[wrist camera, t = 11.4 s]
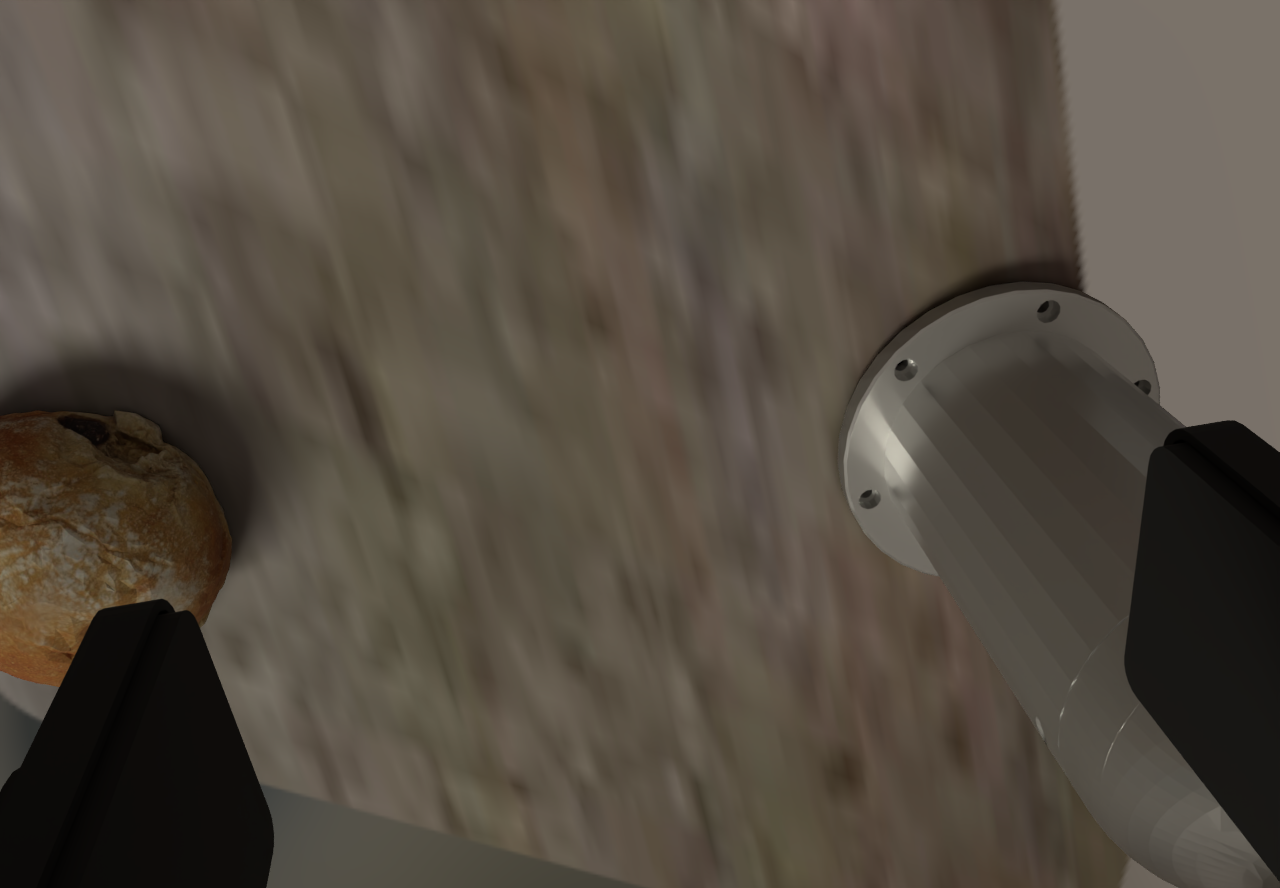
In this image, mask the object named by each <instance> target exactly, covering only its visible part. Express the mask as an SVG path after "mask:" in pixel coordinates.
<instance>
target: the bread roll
mask: <svg viewBox="0 0 1280 888" xmlns="http://www.w3.org/2000/svg"><path fill="white" fill-rule="evenodd" d="M231 546H232V537H231V536H230V533H229V529H228V524H227V522H226V519H225V517H224V509H223V508H222V507H221V506H220V504H219V502H218V501H217V499H216V497H215V495H214V493H213V490H212V487H211V485H210V483H209V481H208V479H207V477H206V476H205V474H204V473H203V471H202V470H201V469H200V467H199V466H198V464H197V463H196V462H195V461H194V460H193V459H191V458H190V457H189V456H188V455H186V454H185V453H184V452H182V451H181V450H179V449H178V448H176V447H175V446H172V445H170V444H167V443H164V442H163V440H162V432H161V430H160V427H159V425H157V424H155V423H154V422H152V421H150V420H148V419H146V418H144V417H142V416H140V415H138V414H137V413H130V412H123V411H116V410H114V415H113V416H102V415H98V414H92V413H82V412H69V411H59V412H52V413H50V412H45V411H39V410H37V411H32V412H25V413H12V414H8V415H3V416H0V671H3V672H5V673H8V674H10V675H12V676H14V677H17V678H20V679H23V680H27V681H32V682H35V683H40V684H47V685H52V686H57V687H60V685H61V683H62V681H63V679H64V677H65V675H66V673H67V671H68V669H69V666H70V664H71V662H72V660H73V658H74V656H75V654H76V652H77V650H78V648H79V646H80V644H81V642H82V640H83V638H84V636H85V634H86V631H87V629H88V627H89V625H90V623H91V621H92V619H93V617H94V616H95V615H96V613H97V612H98V611H99V610H101V609H104V608H109V607H115V606H121V605H127V604H133V603H139V602H145V601H151V600H157V599H164V600H167V601H168V602H169V603H170V604H171V605H172V606H173V608H174V610H175V612H178V611H184V610H188V611H190V612H191V613H192V614H193V615H194V616H195V618H196V620H197V622H198V625H199V627H202V626H203V625H204V624H205V622H206V620H207V618H208V615H209V612H210V610H211V607H212V604H213V602H214V600H215V599H216V597H217V594H218V592H219V590H220V589H221V588H222V587H223V585H224V583H225V582H224V581H225V579H226V575H227V572H228V570H229V566H230V559H231V553H232V548H231Z"/></svg>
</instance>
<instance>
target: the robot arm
mask: <svg viewBox="0 0 1280 888" xmlns="http://www.w3.org/2000/svg"><path fill="white" fill-rule="evenodd" d="M1041 304H1042V305H1041ZM1040 305H1041V306H1040ZM903 360H904V361H903ZM901 361H903V362H902V363H901V364H900V365H898V366H897V364H898V363H900V362H901ZM838 469H839V475H840V481H841V487H842V491H843V493H844V496H845V498H846V500H847V503H848V505H849V507H850V510H851V512H852V514H853V515H854V517H855V519H856V520H857V522H858V523H859V525H860V527H861V528H862V530H863V532H864V533H865V534H866V535H867V537H868V538H869V539H870V540H871V541H872V542H873V543H874V544H875V545H876V546H877V547H878V548H879V549H880V550H881V551H882V552H884V553H885V554H887V555H888V556H890V557H891V558H893V559H894V560H896V561H897V562H899V563H900V564H902V565H904V566H907V567H909V568H912V569H914V570H917V571H919V572H922V573H924V574H929V575H935V576H940V578H941V580H942V581H943V583H944V584H945V586H946V587H947V589H948V591H949V592H950V594H951V595H952V597H953V598H954V600H955V602H956V603H957V605H958V606H959V608H960V609H961V611H962V613H963V614H964V616H965V617H966V619H967V621H968V622H969V624H970V625H971V627H972V628H973V630H974V632H975V633H976V635H977V636H978V638H979V639H980V641H981V643H982V644H983V646H984V647H985V649H986V650H987V652H988V654H989V655H990V657H991V658H992V660H993V661H994V663H995V665H996V666H997V668H998V669H999V671H1000V673H1001V674H1002V676H1003V677H1004V679H1005V680H1006V682H1007V684H1008V685H1009V687H1010V688H1011V690H1012V691H1013V693H1014V695H1015V696H1016V698H1017V699H1018V701H1019V702H1020V704H1021V706H1022V707H1023V709H1024V710H1025V712H1026V713H1027V715H1028V717H1029V718H1030V720H1031V721H1032V723H1033V725H1034V726H1035V728H1036V729H1037V731H1038V732H1039V734H1040V736H1041V737H1042V739H1043V740H1044V742H1045V743H1046V745H1047V747H1048V748H1049V750H1050V751H1051V753H1052V754H1053V756H1054V757H1055V759H1056V760H1057V762H1058V763H1059V765H1060V766H1061V768H1062V770H1063V771H1064V773H1065V774H1066V776H1067V777H1068V779H1069V780H1070V782H1071V784H1072V786H1073V787H1074V789H1075V790H1076V792H1077V793H1078V795H1079V796H1080V798H1081V800H1082V801H1083V803H1084V804H1085V806H1086V807H1087V809H1088V810H1089V812H1090V813H1091V815H1092V816H1093V818H1094V819H1095V820H1096V821H1097V823H1098V824H1099V825H1100V827H1101V828H1102V829H1103V830H1104V832H1105V833H1106V834H1107V835H1108V836H1109V838H1110V839H1111V840H1113V841H1114V842H1115V843H1116V844H1117V845H1118V846H1119V847H1120V848H1121V849H1122V850H1123V851H1124V852H1125V853H1126V854H1127V855H1128V856H1129V857H1131V858H1132V859H1133V860H1134V861H1136V862H1137V863H1139V864H1140V865H1141V866H1143V867H1144V868H1146V869H1147V870H1148V871H1150V872H1151V873H1153V874H1154V875H1156V876H1157V877H1159V878H1161V879H1162V880H1164V881H1166V882H1168V883H1170V884H1172V885H1174V886H1176V887H1178V888H1280V452H1278V451H1277V450H1276V449H1274V448H1273V447H1272V446H1270V445H1269V444H1268V443H1266V442H1265V441H1264V440H1263V439H1261V438H1260V437H1258V436H1257V435H1256V434H1255V433H1253V432H1252V431H1251V430H1249V429H1248V428H1247V427H1245V426H1244V425H1243V424H1241V423H1238V422H1237V421H1221V422H1215V423H1209V424H1203V425H1197V426H1191V427H1186V426H1184V425H1183V424H1182V423H1181V422H1179V421H1178V420H1177V419H1176V418H1175V417H1173V416H1172V415H1171V414H1170V413H1169V412H1167V411H1166V410H1165V409H1164V408H1162V407H1161V406H1160V387H1159V382H1158V378H1157V373H1156V369H1155V365H1154V361H1153V359H1152V357H1151V356H1150V353H1149V351H1148V349H1147V348H1146V346H1145V343H1144V341H1143V340H1142V338H1141V337H1140V336H1139V335H1138V334H1137V333H1136V331H1135V330H1134V329H1133V328H1132V327H1131V326H1130V324H1129V323H1128V322H1127V321H1126V320H1125V319H1124V318H1122V317H1121V316H1120V315H1119V314H1117V313H1116V312H1115V311H1113V310H1112V309H1111V308H1109V307H1108V306H1107V305H1105V304H1104V303H1102V302H1101V301H1099V300H1097V299H1095V298H1093V297H1091V296H1089V295H1087V294H1085V293H1083V292H1082V291H1080V290H1076V289H1072V288H1068V287H1065V286H1061V285H1057V284H1053V283H1040V282H1014V283H1007V284H1000V285H992V286H988V287H985V288H982V289H978V290H975V291H972V292H969V293H966V294H963V295H960V296H957V297H955V298H953V299H951V300H949V301H947V302H945V303H943V304H942V305H940V306H938V307H936V308H934V309H932V310H930V311H928V312H927V313H925V314H924V315H923V316H921V317H920V318H918V319H917V320H916V321H914V322H913V323H912V324H910V325H909V326H908V327H906V328H905V329H903V330H902V331H901V332H900V333H899V334H898V335H897V336H896V337H895V338H894V339H893V340H892V341H891V342H890V343H889V344H888V345H887V346H886V347H885V348H884V349H883V350H882V351H881V352H880V353H879V354H878V355H877V357H876V358H875V360H874V361H873V362H872V364H871V365H870V367H869V368H868V369H867V371H866V372H865V374H864V375H863V377H862V378H861V379H860V381H859V383H858V385H857V387H856V389H855V391H854V393H853V396H852V398H851V400H850V402H849V404H848V406H847V408H846V412H845V416H844V419H843V423H842V427H841V431H840V435H839V446H838ZM273 847H274V831H273V823H272V818H271V814H270V810H269V808H268V805H267V802H266V800H265V797H264V795H263V792H262V789H261V787H260V784H259V781H258V779H257V776H256V774H255V771H254V768H253V766H252V763H251V761H250V758H249V755H248V753H247V750H246V747H245V745H244V742H243V740H242V737H241V734H240V732H239V729H238V727H237V724H236V721H235V719H234V716H233V713H232V711H231V708H230V706H229V703H228V700H227V698H226V695H225V693H224V690H223V687H222V685H221V682H220V680H219V677H218V674H217V672H216V669H215V666H214V664H213V661H212V659H211V656H210V653H209V651H208V648H207V646H206V643H205V640H204V638H203V635H202V632H201V630H200V627H199V625H198V622H197V620H196V618H195V616H194V615H193V614H192V613H191V612H190V611H188V610H184V611H178V612H175V610H174V608H173V606H172V605H171V604H170V603H169V602H168V601H167V600H164V599H157V600H151V601H145V602H139V603H133V604H127V605H121V606H115V607H109V608H104V609H101V610H99V611H98V612H97V613H96V615H95V616H94V617H93V619H92V621H91V623H90V625H89V627H88V629H87V631H86V634H85V636H84V638H83V640H82V642H81V644H80V646H79V648H78V650H77V652H76V654H75V656H74V658H73V660H72V662H71V664H70V666H69V669H68V671H67V673H66V675H65V677H64V679H63V681H62V683H61V685H60V687H59V689H58V691H57V693H56V695H55V697H54V699H53V701H52V703H51V706H50V708H49V710H48V712H47V714H46V716H45V718H44V720H43V722H42V724H41V726H40V728H39V730H38V732H37V734H36V736H35V739H34V741H33V743H32V745H31V747H30V749H29V751H28V753H27V755H26V757H25V759H24V761H23V763H22V765H21V767H20V768H19V769H17V770H15V771H14V772H13V773H12V774H11V776H10V777H9V778H8V780H7V781H6V783H5V784H4V786H3V787H2V789H1V792H0V888H266V886H267V881H268V876H269V871H270V866H271V860H272V855H273Z"/></svg>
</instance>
